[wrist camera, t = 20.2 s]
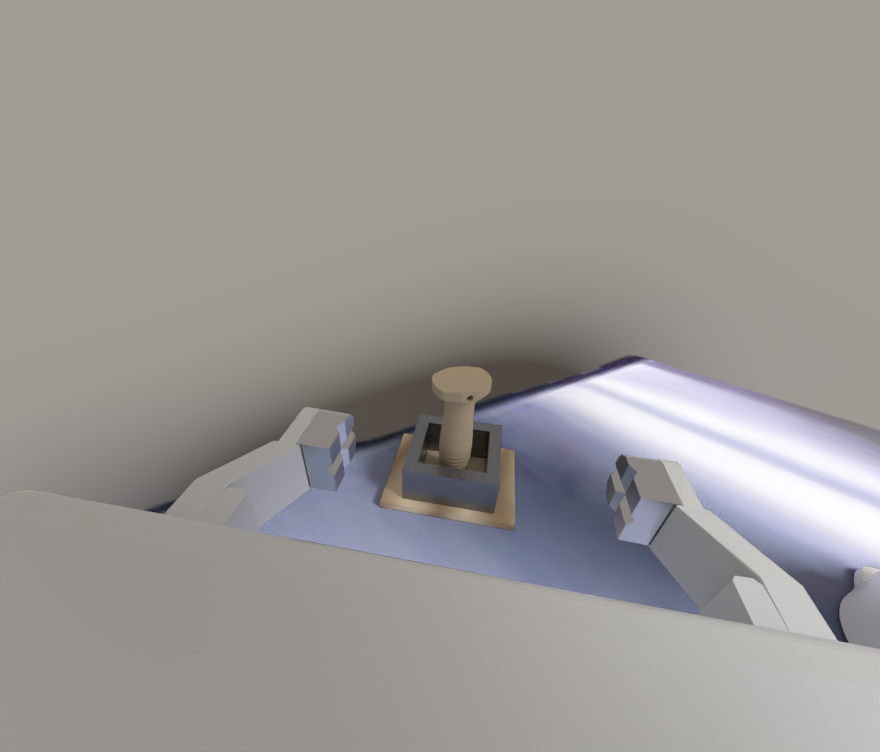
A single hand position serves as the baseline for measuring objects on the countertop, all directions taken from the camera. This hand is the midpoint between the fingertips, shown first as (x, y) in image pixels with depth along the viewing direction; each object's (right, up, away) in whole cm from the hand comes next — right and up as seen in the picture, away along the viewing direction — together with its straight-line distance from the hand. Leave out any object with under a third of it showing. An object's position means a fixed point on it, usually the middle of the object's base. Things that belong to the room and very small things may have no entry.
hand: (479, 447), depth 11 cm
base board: (0, -11, +37) cm, 39 cm away
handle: (0, -11, +36) cm, 38 cm away
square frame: (0, -10, +36) cm, 38 cm away
